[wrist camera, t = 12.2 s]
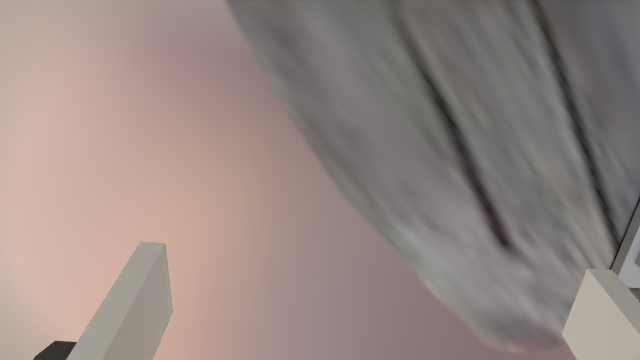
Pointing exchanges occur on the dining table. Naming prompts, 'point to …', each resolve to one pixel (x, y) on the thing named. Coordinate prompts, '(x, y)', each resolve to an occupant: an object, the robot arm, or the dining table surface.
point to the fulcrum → (630, 255)
